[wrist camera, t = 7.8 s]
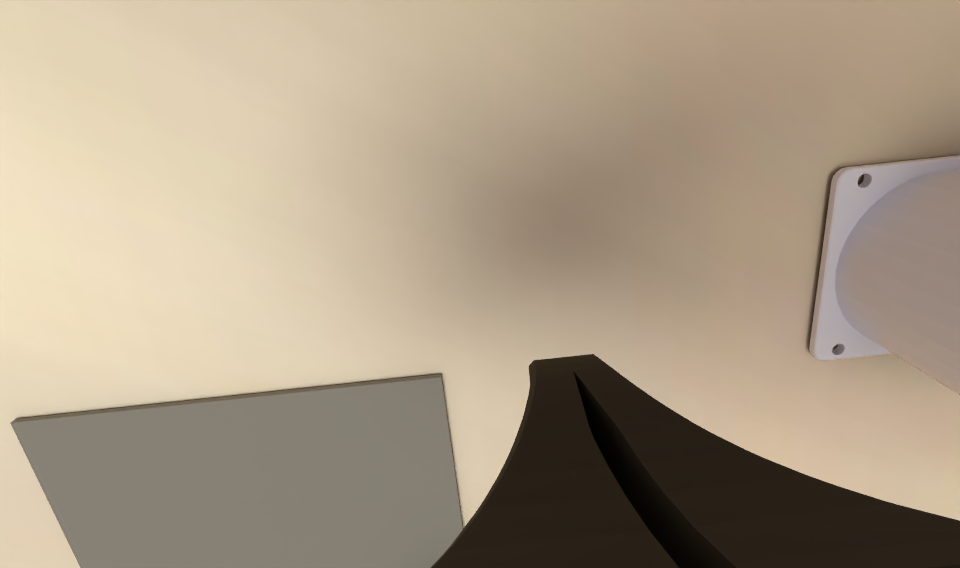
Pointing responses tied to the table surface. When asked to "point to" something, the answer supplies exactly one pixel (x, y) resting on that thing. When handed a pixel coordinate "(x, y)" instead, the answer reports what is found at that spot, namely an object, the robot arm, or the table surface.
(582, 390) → the robot arm
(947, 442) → the table surface
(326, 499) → the mat
